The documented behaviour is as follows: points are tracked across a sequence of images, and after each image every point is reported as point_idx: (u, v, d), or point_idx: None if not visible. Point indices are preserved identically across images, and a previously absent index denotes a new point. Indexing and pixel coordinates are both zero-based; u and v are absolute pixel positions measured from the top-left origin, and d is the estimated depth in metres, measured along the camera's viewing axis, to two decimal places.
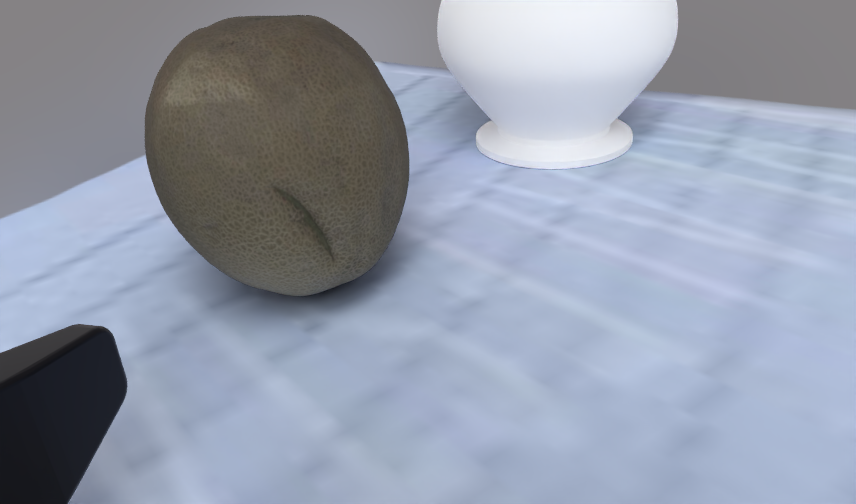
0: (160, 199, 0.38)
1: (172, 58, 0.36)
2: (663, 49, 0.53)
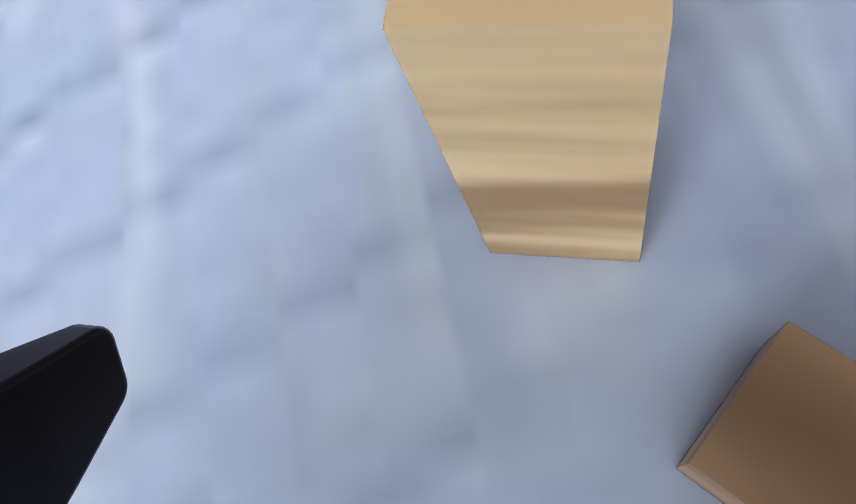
0: None
1: None
2: None
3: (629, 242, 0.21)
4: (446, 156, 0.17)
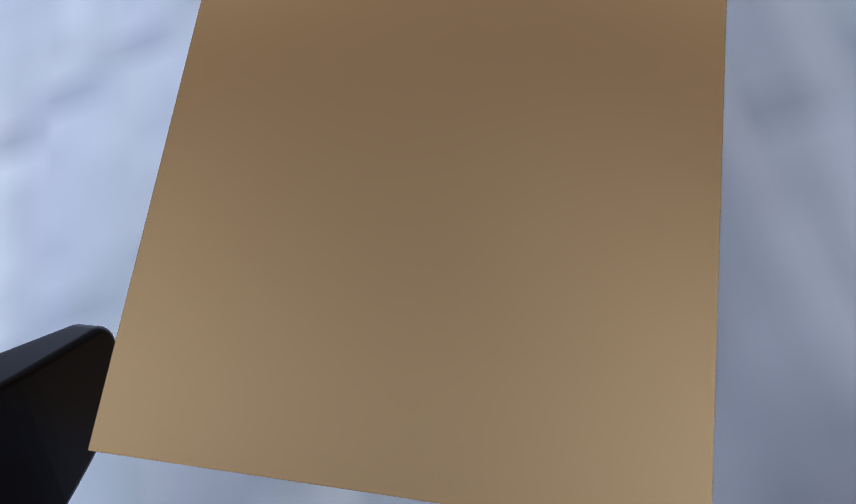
0: None
1: None
2: None
3: None
4: None
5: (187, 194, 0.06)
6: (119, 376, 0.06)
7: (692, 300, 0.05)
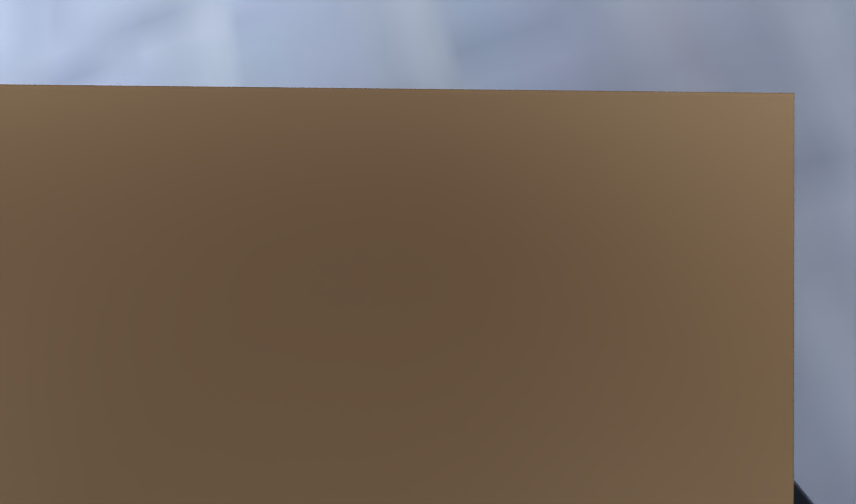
0: None
1: None
2: None
3: None
4: None
5: None
6: None
7: None
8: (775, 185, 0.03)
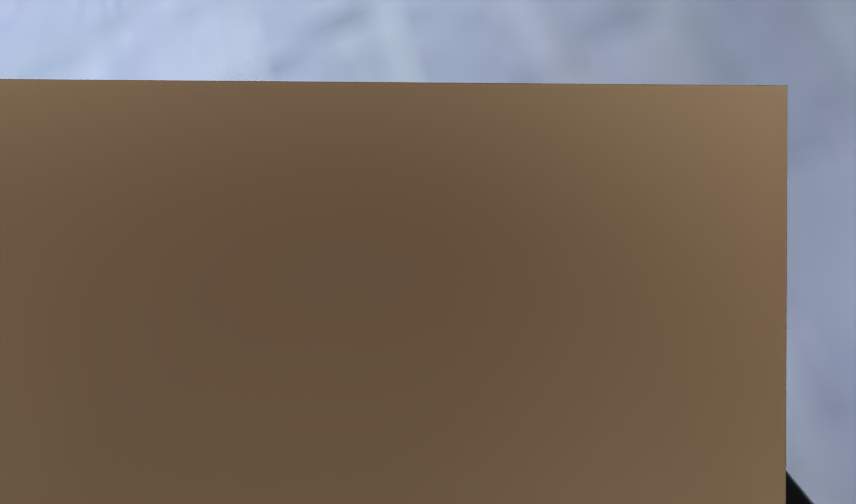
0: None
1: None
2: None
3: None
4: None
5: None
6: None
7: None
8: (768, 177, 0.03)
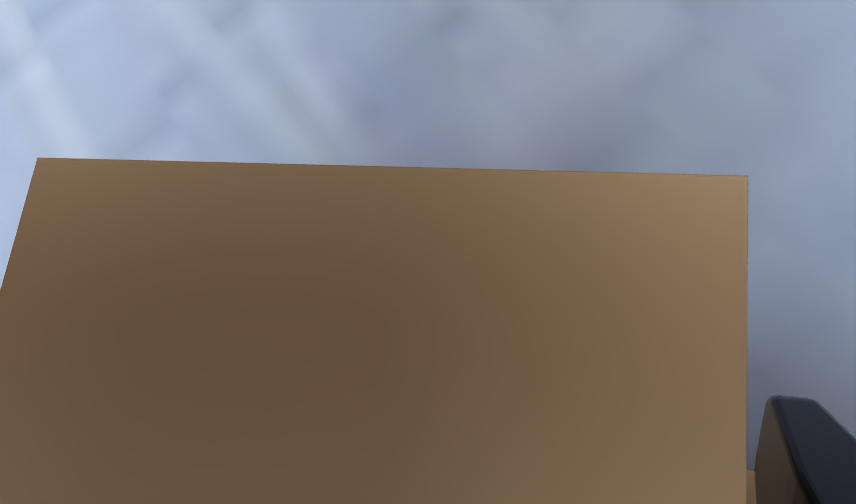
0: None
1: None
2: None
3: None
4: None
5: None
6: None
7: None
8: (733, 248, 0.04)
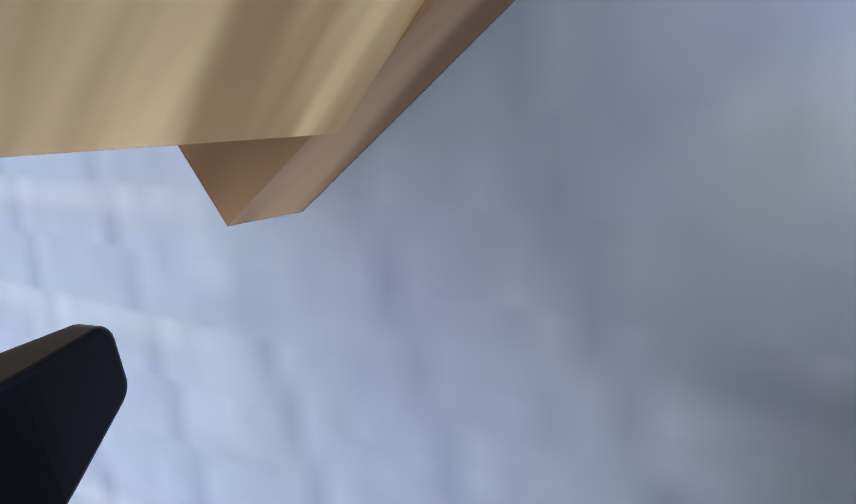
0: None
1: None
2: None
3: None
4: (111, 147, 0.15)
5: None
6: None
7: None
8: None
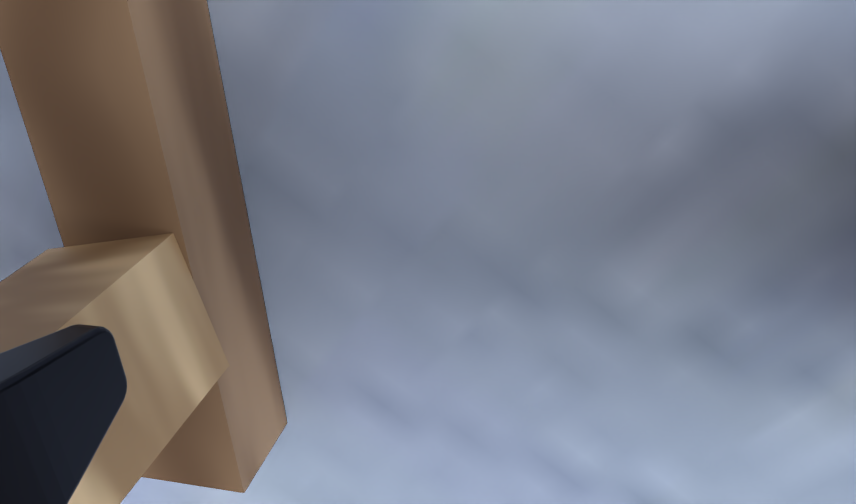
0: None
1: None
2: None
3: (141, 275, 0.19)
4: None
5: None
6: None
7: None
8: None
